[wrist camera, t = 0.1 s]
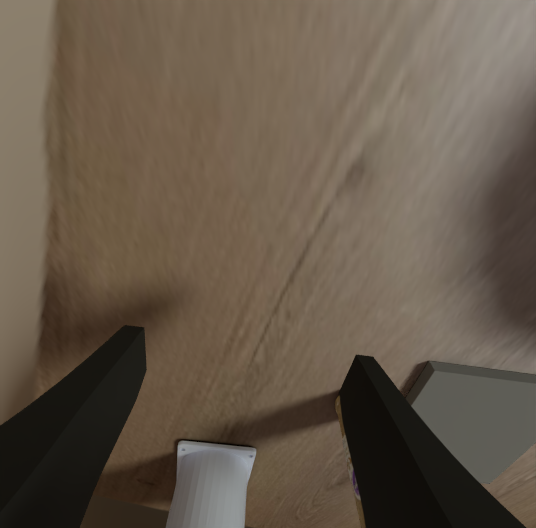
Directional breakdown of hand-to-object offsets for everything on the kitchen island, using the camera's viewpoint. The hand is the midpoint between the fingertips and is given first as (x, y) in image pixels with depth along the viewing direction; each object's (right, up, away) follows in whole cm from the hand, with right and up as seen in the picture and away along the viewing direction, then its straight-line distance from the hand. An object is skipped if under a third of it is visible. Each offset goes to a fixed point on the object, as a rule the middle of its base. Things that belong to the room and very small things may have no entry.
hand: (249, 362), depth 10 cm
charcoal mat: (+19, -12, +19) cm, 30 cm away
